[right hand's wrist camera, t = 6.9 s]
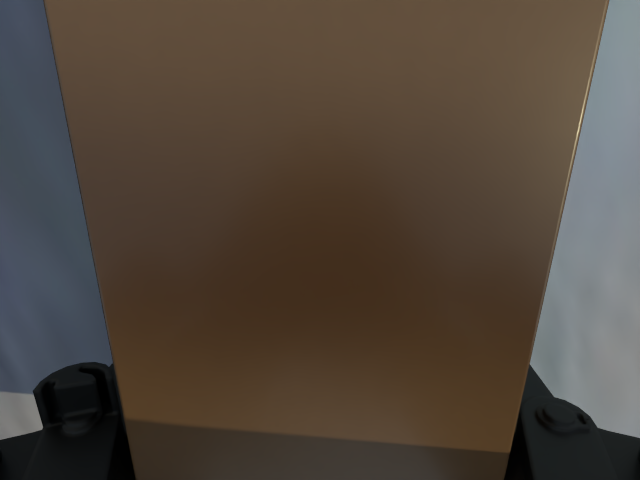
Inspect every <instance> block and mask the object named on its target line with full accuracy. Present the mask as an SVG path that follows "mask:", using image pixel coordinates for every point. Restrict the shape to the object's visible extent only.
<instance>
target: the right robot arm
mask: <svg viewBox="0 0 640 480" xmlns="http://www.w3.org/2000/svg"><path fill="white" fill-rule="evenodd" d="M33 393H34V397H35V400H36V404H37V407H38V411H39V414H40V418H41V421H42V425H43V429H42V430H40V431H36V432H33V433H29V434H25V435H20V436H16V437H11V438H7V439H3V440H0V480H136V479H135V473H134V468H133V463H132V458H131V453H130V448H129V442H128V437H127V432H126V427H125V422H124V416H123V411H122V406H121V401H120V396H119V390H118V385H117V380H116V375H115V370H114V364H111V366H110V367H108V366H107V365H106V364H101V363H97V362H89V363H79V364H75V365H71V366H67V367H65V368H63V369H60V370H58V371H56V372H54V373H52V374H50V375H49V376H48V377H46V378H45V379H43V380H42V381H41V382H40V383H39V384H38V385H37V387H36V388H35V389H34V390H33ZM504 480H640V438H637V437H632V436H628V435H623V434H619V433H615V432H610V431H606V430H603V429H600V428H597V426H596V425H595V423H594V422H593V420H592V419H591V417H590V416H589V415H587V414H586V413H585V412H584V411H583V410H581V409H580V408H579V407H577V406H575V405H573V404H571V403H569V402H567V401H565V400H562V399H559V398H555V397H553V395H552V394H551V393H550V391H549V390H548V388H547V387H546V386H545V384H544V383H543V382H542V380H541V379H540V378H539V376H538V375H537V374H536V372H535V371H534V370H533V368H532V367H531V365H530V364H529V368H528V373H527V377H526V382H525V386H524V391H523V395H522V400H521V405H520V409H519V414H518V418H517V423H516V427H515V432H514V436H513V441H512V446H511V450H510V455H509V459H508V464H507V468H506V473H505V477H504Z"/></svg>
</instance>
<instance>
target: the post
mask: <svg viewBox="0 0 640 480" xmlns="http://www.w3.org/2000/svg"><path fill="white" fill-rule="evenodd" d="M43 1H44V6H45V11H46V17H47V22H48V27H49V32H50V37H51V43H52V48H53V53H54V58H55V63H56V69H57V74H58V79H59V84H60V89H61V95H62V100H63V105H64V110H65V115H66V120H67V126H68V131H69V136H70V141H71V146H72V152H73V157H74V162H75V167H76V172H77V178H78V183H79V188H80V193H81V198H82V204H83V209H84V214H85V219H86V224H87V230H88V235H89V240H90V245H91V250H92V255H93V261H94V266H95V271H96V276H97V281H98V287H99V292H100V297H101V302H102V307H103V313H104V318H105V323H106V328H107V333H108V339H109V344H110V349H111V354H112V359H113V364H114V370H115V375H116V380H117V385H118V390H119V396H120V401H121V406H122V411H123V416H124V422H125V427H126V432H127V437H128V442H129V448H130V453H131V458H132V463H133V468H134V473H135V479H136V480H504V477H505V473H506V468H507V464H508V459H509V455H510V450H511V446H512V441H513V436H514V432H515V427H516V423H517V418H518V414H519V409H520V405H521V400H522V395H523V391H524V386H525V382H526V377H527V373H528V368H529V364H530V359H531V355H532V350H533V345H534V341H535V336H536V332H537V327H538V323H539V318H540V314H541V309H542V304H543V300H544V295H545V291H546V286H547V282H548V277H549V273H550V268H551V263H552V259H553V254H554V250H555V245H556V241H557V236H558V232H559V227H560V222H561V218H562V213H563V209H564V204H565V200H566V195H567V191H568V186H569V181H570V177H571V172H572V168H573V163H574V159H575V154H576V150H577V145H578V140H579V136H580V131H581V127H582V122H583V118H584V113H585V109H586V104H587V100H588V95H589V90H590V86H591V81H592V77H593V72H594V68H595V63H596V59H597V54H598V49H599V45H600V40H601V36H602V31H603V27H604V22H605V18H606V13H607V8H608V4H609V0H43Z"/></svg>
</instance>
